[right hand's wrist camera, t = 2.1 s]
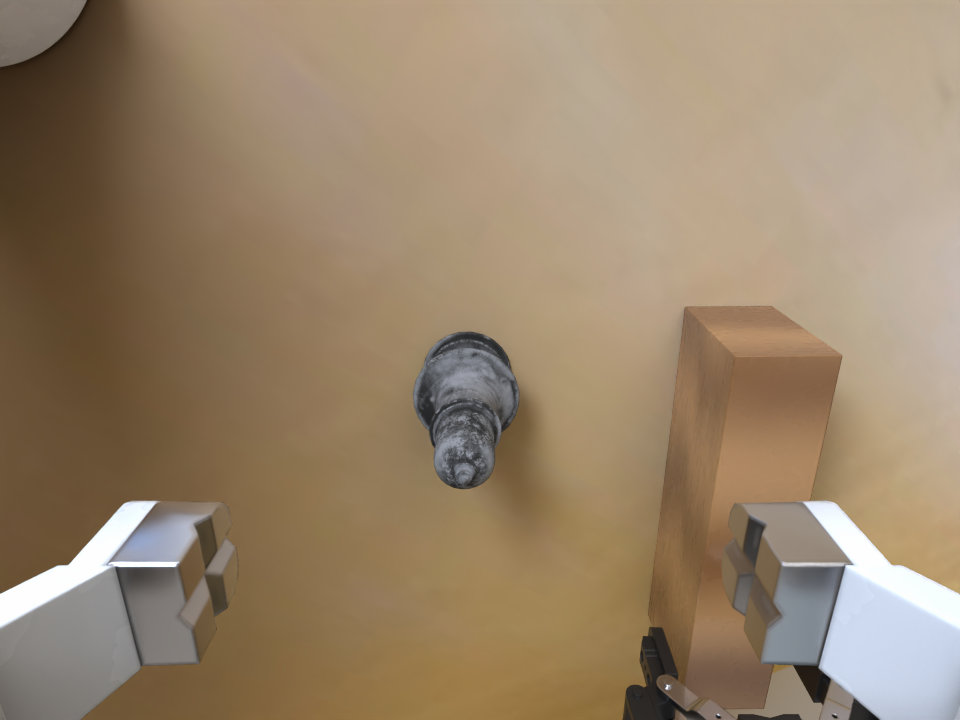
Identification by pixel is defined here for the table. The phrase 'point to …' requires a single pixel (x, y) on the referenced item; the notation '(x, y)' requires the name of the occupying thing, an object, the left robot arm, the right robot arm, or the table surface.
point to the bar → (732, 478)
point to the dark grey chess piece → (465, 405)
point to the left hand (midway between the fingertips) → (723, 636)
